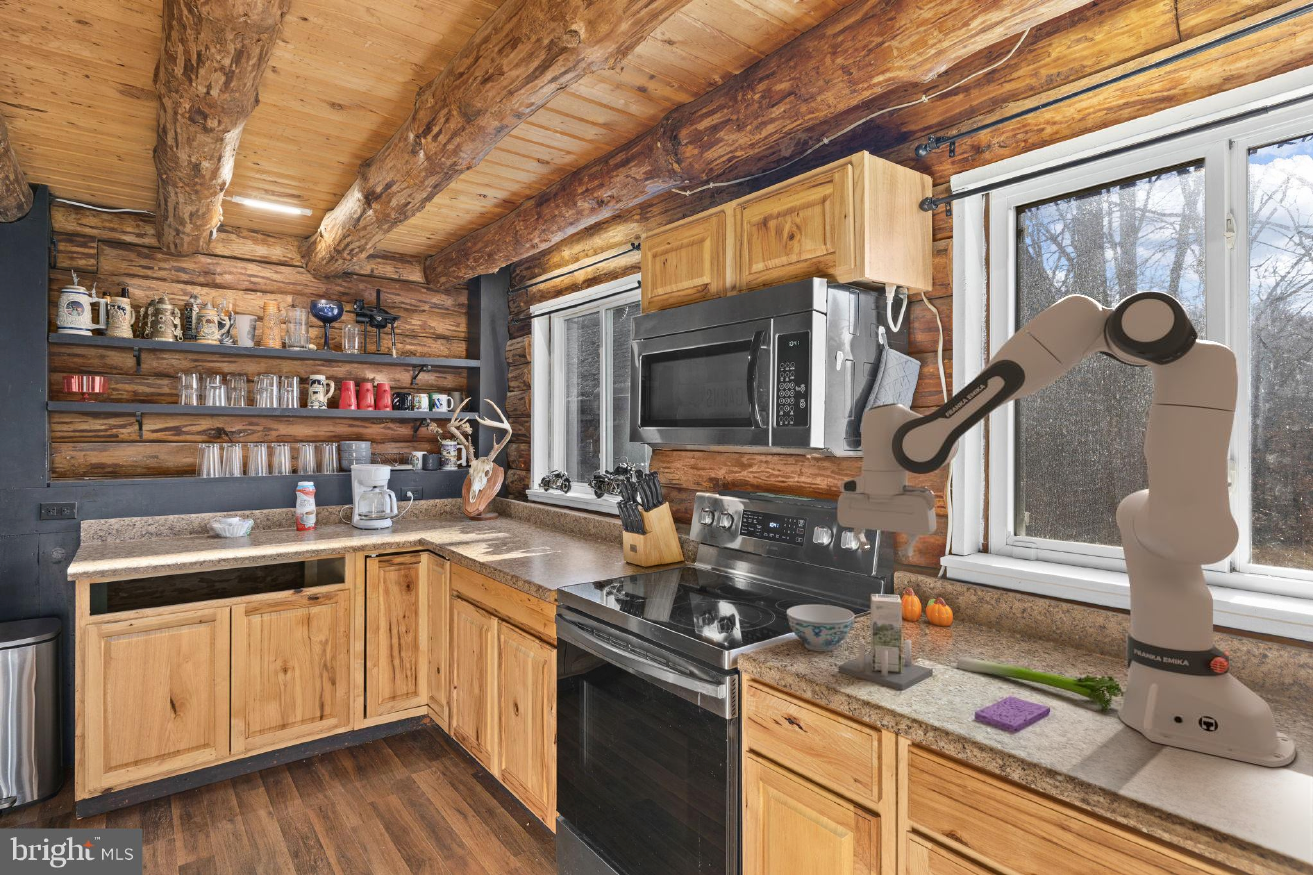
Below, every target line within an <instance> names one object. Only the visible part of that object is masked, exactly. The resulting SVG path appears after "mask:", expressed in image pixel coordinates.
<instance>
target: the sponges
mask: <svg viewBox="0 0 1313 875" xmlns="http://www.w3.org/2000/svg"><path fill="white" fill-rule="evenodd" d="M1050 713H1051V707H1050V706H1048V705H1043V704H1040V703H1039V704H1038V703H1035V702H1031V701H1028V700H1024V699H1022V698H1019V697H1017V696H1012V695H1009V696H1006V697H1005V698H1003V699H1001V700H999V701H997V702H994V703H992V704H991V705H987V706H985V707H983V708H980V709H977V710H976V711H974V720H975V719H976V720H975V721H978V720H979V721H978V722H981V723H984V722H985V723H984V724H987V725H990V726H992V727H993V726H994V727H995V728H999V729H1001V730H1005V731H1009V732H1010V733H1014V734H1016V733H1018V732H1021V730H1024V729H1025V728H1027V727H1029V726H1030V725H1033V724H1035V723H1036V722H1038V721H1040V720H1042V719H1044V718H1047V717H1048V716H1049V715H1050Z"/></svg>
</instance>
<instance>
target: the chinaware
mask: <svg viewBox="0 0 1313 875" xmlns="http://www.w3.org/2000/svg"><path fill="white" fill-rule="evenodd" d="M786 617H787V620H788V624H789V626H790V629H791V630H792V632H793V633H794V634H795V635H794V636H796V637H797V639H799V640H800V641H801V642H803V643H804V646H805V648H807V649H808V650H810V651H816V652H830V651H833V650H835V649H836V645H838V644H840V643H841V642H842V641H843V640H845V639H846V637H847V636H848V635H849V633H850V632H851V629H852V627H853V625H854V624H853V623H854V620H855V613H854V612H852V610H850V609H846V608H844V607H841V606H835V605H827V604H799V605H794V606H792V607H789V608H788V609H786Z"/></svg>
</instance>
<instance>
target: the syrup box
mask: <svg viewBox="0 0 1313 875" xmlns="http://www.w3.org/2000/svg"><path fill="white" fill-rule="evenodd" d="M900 596H901V595H899V594H898V595H897V594H883V593H882V594H881V593H871V594H870V653H871V665H872V671H881V650H887V651H888V672H895V673H901V672H902V661H903V660H902V658H903V657H902V656H903V651H902V650H903V649H902V648H903V647H902V646H903V642H902V641H903V637H902V636H903V603H902V601H901V597H900Z"/></svg>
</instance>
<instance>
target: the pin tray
mask: <svg viewBox="0 0 1313 875" xmlns="http://www.w3.org/2000/svg"><path fill="white" fill-rule="evenodd" d="M837 667H838V672H839V673H842V674H845V675H848V676H852V677H855V678H859V679H862V680H864V681H865V680H866V681H868V682H871V683H876V684H879V685H882V686H886V687H889V688H892V689H896V690H900V691H904V690H907V689H909V688H911V687H913V686H914V685H916V684H919V683H920V682H922V681H924V680H926V679H929V678H930V677H932V676H933V671H934V670H933V668H929V667H925V666H921V665H918V664H914V663H912V640H909V639H905V640H904V661H903V660H902V672H901V673H895V672H888V651H887V650H881V671H872V665H871V652H869V653H867V654H866V645H865V644H863V643H858V657H856V658H853V659H852V660H850V661H847V662H845V663H842V664H839V665H838V666H837Z"/></svg>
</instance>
